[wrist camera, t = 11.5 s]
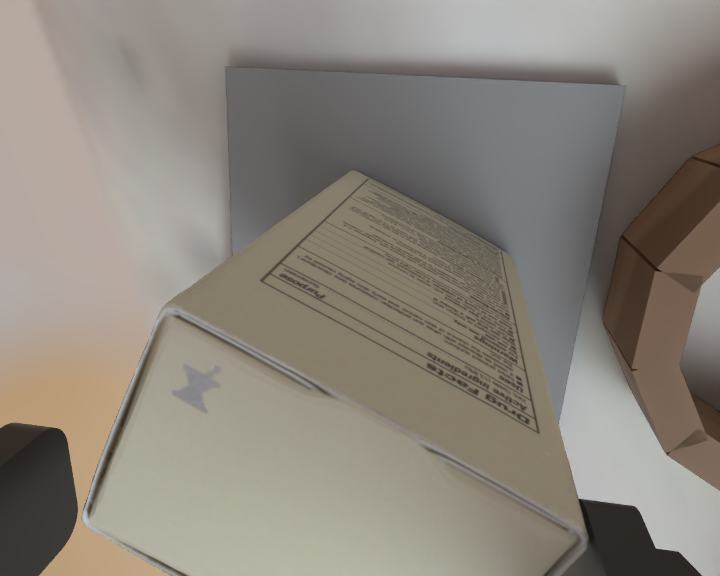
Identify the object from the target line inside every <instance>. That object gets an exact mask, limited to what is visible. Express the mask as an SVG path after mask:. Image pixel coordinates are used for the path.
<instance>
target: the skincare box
mask: <svg viewBox="0 0 720 576" xmlns="http://www.w3.org/2000/svg"><path fill="white" fill-rule="evenodd" d="M82 521H83V523H84V524H85V525H86V526H87V527H88V528H90V529H91V530H93V531H94V532H96V533H98V534H100V535H102V536H104V537H106V538H108V539H109V540H111V541H113V542H114V543H116V544H117V545H119V546H120V547H122V548H124V549H126V550H128V551H129V552H131V553H133V554H134V555H136V556H138V557H140V558H142V559H143V560H145V561H146V562H148V563H149V564H151V565H153V566H155V567H158V568H159V569H161V570H162V571H163V572H165V573H167V574H169V575H171V576H562V575H563V574H564V573H565V572H566V571H567V570H568V569H569V568H570V567H571V566H572V565H573V564H574V563H575V562H576V561H577V560H578V559H579V557H580V556H581V555H582V554H583V553H584V552H585V551H586V550H587V547H588V543H589V536H588V532H587V529H586V525H585V521H584V517H583V513H582V510H581V506H580V503H579V499H578V495H577V492H576V488H575V484H574V481H573V477H572V473H571V469H570V465H569V461H568V458H567V455H566V452H565V448H564V444H563V440H562V436H561V432H560V428H559V425H558V421H557V417H556V413H555V410H554V406H553V402H552V398H551V394H550V391H549V387H548V383H547V379H546V375H545V372H544V368H543V364H542V361H541V357H540V353H539V349H538V346H537V342H536V338H535V334H534V330H533V327H532V323H531V320H530V316H529V312H528V308H527V304H526V301H525V297H524V293H523V290H522V286H521V282H520V279H519V275H518V271H517V267H516V264H515V260H514V258H513V257H512V256H510V255H509V254H507V253H506V252H504V251H502V250H501V249H499V248H497V247H496V246H494V245H492V244H491V243H489V242H487V241H486V240H484V239H482V238H480V237H479V236H477V235H475V234H474V233H472V232H470V231H468V230H467V229H465V228H463V227H461V226H460V225H458V224H456V223H454V222H452V221H451V220H449V219H447V218H445V217H443V216H442V215H440V214H438V213H436V212H434V211H432V210H430V209H429V208H427V207H425V206H423V205H421V204H420V203H418V202H416V201H414V200H412V199H410V198H408V197H406V196H404V195H403V194H401V193H399V192H397V191H395V190H393V189H391V188H389V187H387V186H385V185H383V184H381V183H379V182H377V181H375V180H373V179H371V178H369V177H367V176H365V175H363V174H361V173H360V172H357V171H355V170H352V171H349V172H348V173H347V174H346V175H344V176H343V177H341V178H340V179H338V180H337V181H336V182H334V183H333V184H332V185H330V186H329V187H327V188H326V189H324V190H323V191H322V192H320V193H319V194H318V195H316V196H315V197H314V198H312V199H311V200H309V201H308V202H307V203H305V204H304V205H302V206H301V207H300V208H298V209H297V210H296V211H294V212H293V213H291V214H290V215H289V216H287V217H286V218H284V219H283V220H282V221H280V222H279V223H277V224H276V225H275V226H273V227H272V228H271V229H270V230H268V231H267V232H265V233H264V234H263V235H261V236H260V237H259V238H257V239H255V240H254V241H253V242H251V243H250V244H249V245H247V246H246V247H244V248H243V249H242V250H240V251H239V252H238V253H236V254H235V255H233V256H232V257H231V258H229V259H228V260H226V261H225V262H223V263H222V264H221V265H219V266H218V267H217V268H215V269H214V270H213V271H211V272H210V273H208V274H207V275H206V276H204V277H203V278H202V279H200V280H199V281H197V282H196V283H195V284H193V285H192V286H191V287H189V288H188V289H186V290H185V291H183V292H182V293H180V294H179V295H177V296H176V297H174V298H173V299H172V300H170V301H169V302H168V303H166V304H165V305H164V306H163V308H162V309H161V311H160V313H159V316H158V319H157V321H156V324H155V326H154V328H153V330H152V333H151V336H150V339H149V341H148V343H147V345H146V347H145V349H144V351H143V353H142V356H141V358H140V360H139V363H138V366H137V369H136V371H135V373H134V376H133V378H132V380H131V382H130V385H129V387H128V389H127V391H126V394H125V396H124V399H123V402H122V404H121V407H120V409H119V412H118V414H117V416H116V419H115V422H114V424H113V426H112V429H111V431H110V434H109V437H108V440H107V442H106V445H105V447H104V450H103V453H102V455H101V458H100V460H99V463H98V466H97V469H96V472H95V475H94V477H93V481H92V485H91V489H90V491H89V494H88V497H87V500H86V503H85V505H84V509H83V513H82Z"/></svg>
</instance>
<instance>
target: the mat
mask: <svg viewBox="0 0 720 576" xmlns="http://www.w3.org/2000/svg"><path fill="white" fill-rule="evenodd" d="M225 68H226V95H227V123H228V151H229V179H230V206H231V234H232V256H233V255H235V254H236V253H238V252H239V251H240V250H242V249H243V248H244V247H246V246H247V245H249V244H250V243H251V242H253V241H254V240H255V239H257V238H259V237H260V236H261V235H263V234H264V233H265V232H267V231H268V230H270V229H271V228H272V227H273V226H275V225H276V224H277V223H279V222H280V221H282V220H283V219H284V218H286V217H287V216H289V215H290V214H291V213H293V212H294V211H296V210H297V209H298V208H300V207H301V206H302V205H304V204H305V203H307V202H308V201H309V200H311V199H312V198H314V197H315V196H316V195H318V194H319V193H320V192H322V191H323V190H324V189H326V188H327V187H329V186H330V185H332V184H333V183H334V182H336V181H337V180H338V179H340V178H341V177H343V176H344V175H346V174H347V173H348V172H349V171H352V170H355V171H357V172H360V173H361V174H363V175H365V176H367V177H369V178H371V179H373V180H375V181H377V182H379V183H381V184H383V185H385V186H387V187H389V188H391V189H393V190H395V191H397V192H399V193H401V194H403V195H404V196H406V197H408V198H410V199H412V200H414V201H416V202H418V203H420V204H421V205H423V206H425V207H427V208H429V209H430V210H432V211H434V212H436V213H438V214H440V215H442V216H443V217H445V218H447V219H449V220H451V221H452V222H454V223H456V224H458V225H460V226H461V227H463V228H465V229H467V230H468V231H470V232H472V233H474V234H475V235H477V236H479V237H480V238H482V239H484V240H486V241H487V242H489V243H491V244H492V245H494V246H496V247H497V248H499V249H501V250H502V251H504V252H506V253H507V254H509V255H510V256H512V257H513V258H514V260H515V264H516V267H517V271H518V275H519V279H520V282H521V286H522V290H523V293H524V297H525V301H526V304H527V308H528V312H529V316H530V320H531V323H532V327H533V330H534V334H535V338H536V342H537V346H538V349H539V353H540V357H541V361H542V364H543V368H544V372H545V375H546V379H547V383H548V387H549V391H550V394H551V398H552V402H553V406H554V410H555V413H556V417H557V421H558V424H559V419H560V414H561V409H562V404H563V399H564V394H565V389H566V384H567V379H568V374H569V369H570V364H571V359H572V354H573V349H574V344H575V339H576V334H577V329H578V324H579V319H580V314H581V309H582V304H583V299H584V294H585V289H586V284H587V279H588V274H589V269H590V264H591V259H592V254H593V249H594V244H595V239H596V234H597V229H598V224H599V219H600V214H601V209H602V204H603V199H604V194H605V189H606V184H607V179H608V173H609V168H610V163H611V158H612V153H613V148H614V143H615V138H616V133H617V128H618V123H619V118H620V113H621V108H622V103H623V98H624V93H625V88H626V86H625V85H604V84H583V83H562V82H541V81H520V80H499V79H478V78H457V77H436V76H415V75H394V74H373V73H352V72H331V71H310V70H289V69H268V68H247V67H227V66H225Z"/></svg>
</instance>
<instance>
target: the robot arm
mask: <svg viewBox="0 0 720 576" xmlns="http://www.w3.org/2000/svg"><path fill="white" fill-rule="evenodd" d="M579 503H580V506H581V510H582V513H583V517H584V521H585V525H586V529H587V532H588V536H589V543H588V547H587V550H586V551H585V552H584V553H583V554H582V555H581V556H580V557H579V559H578V560H577V561H576V562H575V563H574V564H573V565H572V566H571V567H570V568H569V569H568V570H567V571H566V572H565V573H564V574H563V575H562V576H702V575H701V574H700V573H699V572H698V571H697V570H696V569H695V568H694V567H693V566H692V565H691V564H690V563H689V562H688V561H687V560H686V559H685V558H684V557H683V556H682V555H681V554H680V553H679V552H675V551H668V550H661V549H656V548H655V546H654V544H653V541H652V539H651V537H650V535H649V532H648V530H647V528H646V525H645V523H644V521H643V518H642V516H641V514H640V512H639V511H638V509H637V508H636V507H635V506H629V505H622V504H614V503H607V502H599V501H591V500H584V499H579ZM77 513H78V505H77V498H76V492H75V486H74V479H73V473H72V467H71V461H70V455H69V449H68V442H67V438H66V436H65V434H64V433H63V431H61V430H60V429H57V428H52V427H44V426H37V425H29V424H21V423H10V424H7V425H5V426H3V427H2V428H0V576H39V575H40V574H41V572H42V571H43V570H44V569H45V568H46V567H47V565H48V564H49V563H50V562H51V561H52V560H53V559H54V558H55V556H56V555H57V554H58V553H59V552H60V551H61V550H62V548H63V547H64V546H65V544H66V543H67V541H68V540H69V538H70V536H71V534H72V532H73V529H74V526H75V523H76V519H77Z"/></svg>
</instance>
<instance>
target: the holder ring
mask: <svg viewBox="0 0 720 576" xmlns="http://www.w3.org/2000/svg"><path fill="white" fill-rule="evenodd" d="M693 157H694V159H692V158H689V159H688V161H687V162H686V163H685V164H684V165H683V166H682V167H681V168H680V170H679V171H678V172H677V173H676V174H675V175H674V176H673V177H672V179H671V180H670V181H669V182H668V183H667V184H666V185H665V186H664V188H663V189H662V190H661V191H660V192H659V193H658V194H657V195H656V197H655V198H654V199H653V200H652V201H651V202H650V203H649V204H648V206H647V207H646V208H645V209H644V210H643V211H642V212H641V213H640V215H639V216H638V217H637V218H636V219H635V220H634V221H633V223H632V224H631V225H630V226H629V227H628V228H627V229H626V230H625V232H624V233H623V234H622V235H623V236H624V237H625V238H624V237H620V242H619V246H618V251H617V256H616V260H615V265H614V270H613V274H612V279H611V283H610V288H609V293H608V297H607V302H606V307H605V311H604V316H603V321H604V322H603V324H604V326H605V329H606V331H607V333H608V336H609V338H610V341H611V343H612V346H613V348H614V350H615V353H616V355H617V358H618V360H619V362H620V365H621V367H622V370H623V372H624V374H625V377H626V379H627V382H628V384H629V386H630V389H631V391H632V393H633V395H634V397H635V399H636V401H637V402H638V404H639V406H640V408H641V410H642V411H643V413H644V415H645V417H646V419H647V421H648V422H649V424H650V426H651V428H652V430H653V432H654V433H655V435H656V437H657V439H658V441H659V442H660V444H661V446H662V448H663V450H664V452H665V453H666V454H667V455H668V456H669V457H671V458H672V459H673V460H675V461H676V462H678V463H679V464H681V465H682V466H684V467H685V468H687V469H688V470H690V471H691V472H693V473H694V474H696V475H697V476H699V477H700V478H702V479H703V480H705V481H706V482H708V483H709V484H711V485H712V486H714V487H715V488H717V489H718V490H720V412H719V411H718V410H716V409H715V408H713V407H712V406H710V405H709V404H707V403H706V402H705V401H703V400H702V399H700V398H699V397H697V396H696V395H694V394H693V393H691V392H690V391H689V389H688V387H687V384H686V381H685V379H684V376H683V374H682V371H681V369H680V366H679V364H680V361H681V357H682V353H683V350H684V346H685V342H686V339H687V335H688V332H689V328H690V324H691V321H692V317H693V313H694V310H695V306H696V303H697V299H698V295H699V292H700V288H701V285H702V284H703V283H704V282H705V281H706V280H707V279H708V278H709V277H710V276H711V275H712V274H713V273H714V272H715V271H716V270H717V269H718V268H719V267H720V144H719V145H717V146H714V147H712V148H710V149H707V150H705V151H703V152H700V153H698V154H696V155H693Z"/></svg>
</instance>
